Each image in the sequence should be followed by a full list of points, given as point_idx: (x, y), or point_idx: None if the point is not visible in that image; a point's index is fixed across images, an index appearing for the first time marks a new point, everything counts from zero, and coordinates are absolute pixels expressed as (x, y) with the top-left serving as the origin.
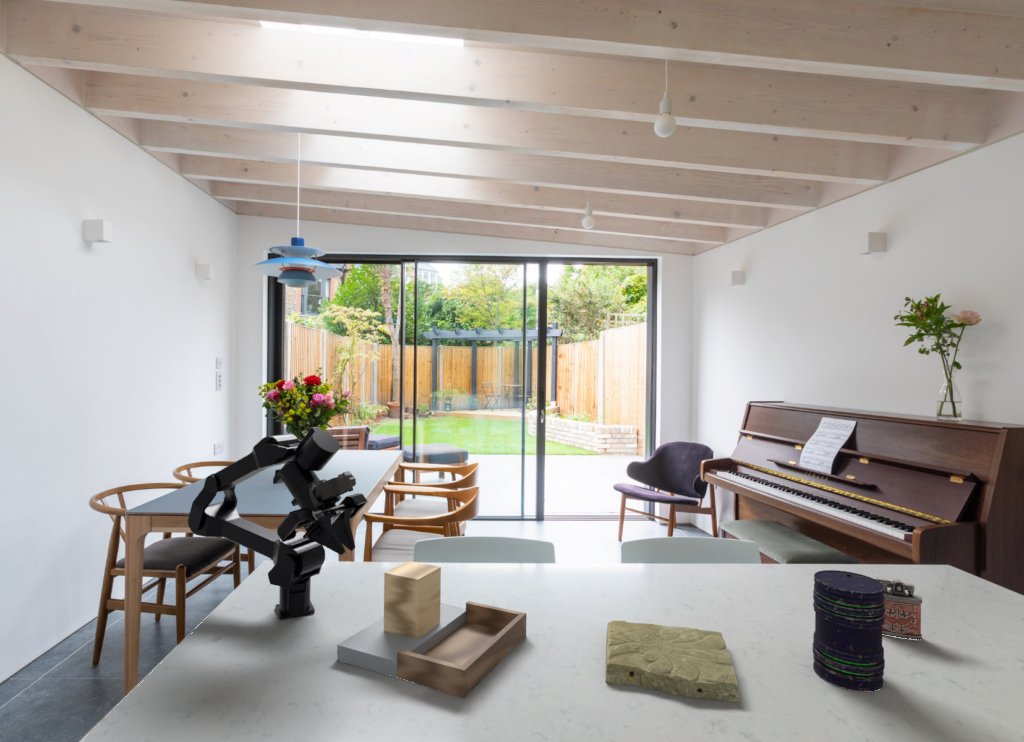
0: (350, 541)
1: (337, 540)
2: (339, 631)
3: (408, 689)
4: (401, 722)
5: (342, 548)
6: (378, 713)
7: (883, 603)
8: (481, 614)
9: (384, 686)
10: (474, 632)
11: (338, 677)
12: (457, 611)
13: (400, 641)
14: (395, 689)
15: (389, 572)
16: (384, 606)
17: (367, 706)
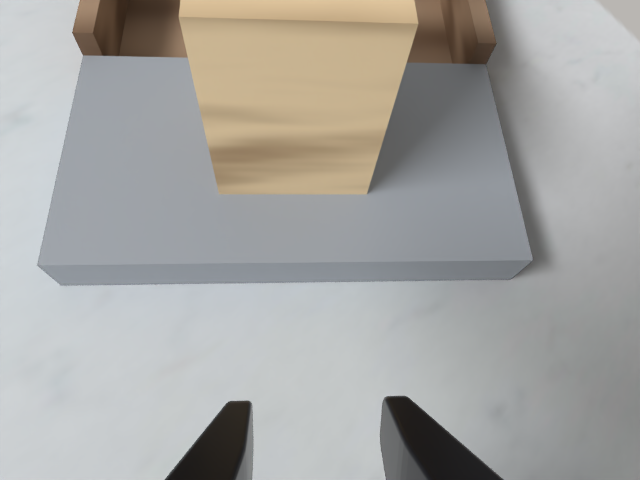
0: (244, 456)
1: (481, 476)
2: (362, 431)
3: None
4: (575, 13)
5: (418, 413)
6: (588, 58)
7: None
8: (112, 10)
9: (513, 99)
10: (175, 37)
11: (564, 212)
12: (117, 74)
13: (393, 113)
14: (505, 74)
15: (398, 6)
16: (381, 139)
17: (589, 86)
